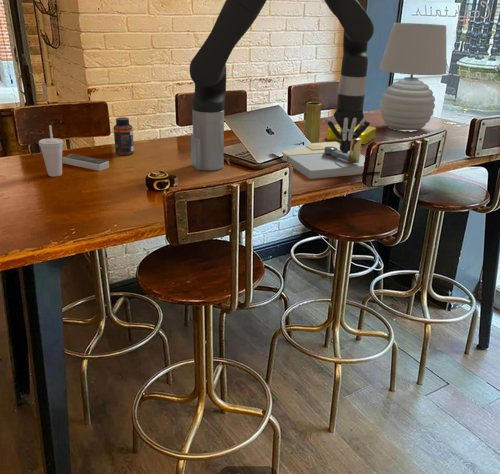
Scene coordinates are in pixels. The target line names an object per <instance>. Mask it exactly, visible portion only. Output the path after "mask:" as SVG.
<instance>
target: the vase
mask: <svg viewBox="0 0 500 474" xmlns="http://www.w3.org/2000/svg"><path fill="white" fill-rule="evenodd" d="M322 106H323V105H322V103H321V102H319V101H309V102H306V106H305V109H306V110H305V120H304V126H303V127H304V129H303V136H304V135H305V137H306V138H307V139H308V140H309V141H310V142H311V143H320V134H321V130H320V129H321V116H322Z"/></svg>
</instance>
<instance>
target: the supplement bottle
mask: <svg viewBox="0 0 500 474" xmlns="http://www.w3.org/2000/svg"><path fill="white" fill-rule="evenodd" d="M113 138H114V140H113V141H114V149H115V154H117V155H119V156H129V155H133V154H134V153H135V146H134V144H135V143H134V130H133V126H132V125H131V124H130V119H129V118H128V117H123V116H122V117H121V116H120V117H116V118H115V125H113Z"/></svg>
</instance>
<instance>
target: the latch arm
mask: <svg viewBox="0 0 500 474" xmlns="http://www.w3.org/2000/svg"><path fill="white" fill-rule="evenodd" d="M361 144H362V139H361V138H357V139H353V140H352V141H351V147H350V153H342V152H341V151H340V150H337V148H336V147H325V150H324V154H326V155H331V156H334V157H337V158H340V159H343V160H346V161H349V162H350V163H359V160H360V154H361V153H362V145H361Z"/></svg>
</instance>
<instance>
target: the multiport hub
mask: <svg viewBox="0 0 500 474" xmlns="http://www.w3.org/2000/svg"><path fill="white" fill-rule="evenodd" d="M62 164H63V165H64V164H66V165H69V166H74V167H77V168H78V167H79V168H85V169H87V170H93V171H99V172H101V171H104V170H106V169H109V168H110V161H109V160H105V159H100V158H95V157H90V156H85V155H79V154H75V153H71V154H68V155H64V156H62Z"/></svg>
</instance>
